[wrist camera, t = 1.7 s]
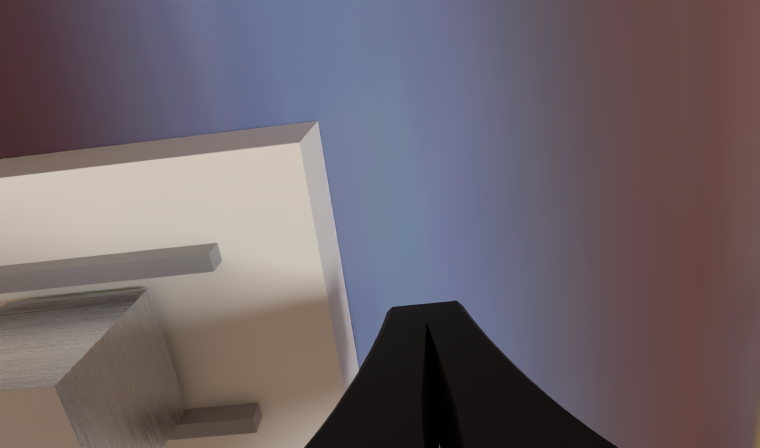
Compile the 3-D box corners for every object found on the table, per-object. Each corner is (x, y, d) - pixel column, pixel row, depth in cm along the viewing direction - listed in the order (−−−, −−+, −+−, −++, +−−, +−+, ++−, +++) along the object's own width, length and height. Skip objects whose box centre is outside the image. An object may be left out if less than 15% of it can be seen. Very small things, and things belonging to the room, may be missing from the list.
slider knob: (186, 407, 11) (117, 533, 8) (57, 418, 11) (-53, 545, 8) (148, 287, 10) (54, 386, 7) (7, 302, 10) (-138, 404, 7)
